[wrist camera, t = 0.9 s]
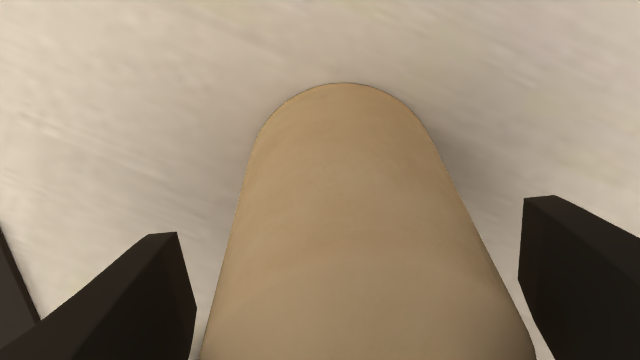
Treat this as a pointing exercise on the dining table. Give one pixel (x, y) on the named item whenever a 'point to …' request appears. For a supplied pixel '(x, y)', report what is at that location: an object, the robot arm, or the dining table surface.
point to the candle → (356, 245)
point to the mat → (13, 300)
